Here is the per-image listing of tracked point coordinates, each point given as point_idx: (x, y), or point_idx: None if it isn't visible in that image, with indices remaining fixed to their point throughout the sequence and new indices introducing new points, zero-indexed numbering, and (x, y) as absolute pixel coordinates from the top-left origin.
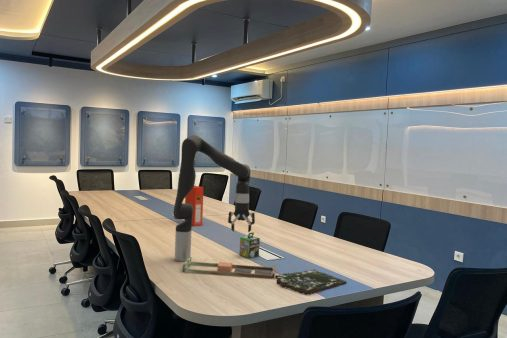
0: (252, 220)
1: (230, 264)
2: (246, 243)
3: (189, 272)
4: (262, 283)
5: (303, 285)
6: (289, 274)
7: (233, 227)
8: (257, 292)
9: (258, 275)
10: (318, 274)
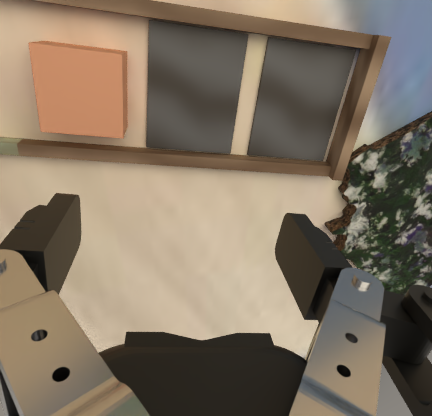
0: (414, 405)
1: (115, 94)
2: None
3: None
4: (271, 229)
5: (405, 271)
6: (412, 150)
7: (60, 278)
8: (243, 301)
9: (268, 170)
10: None
